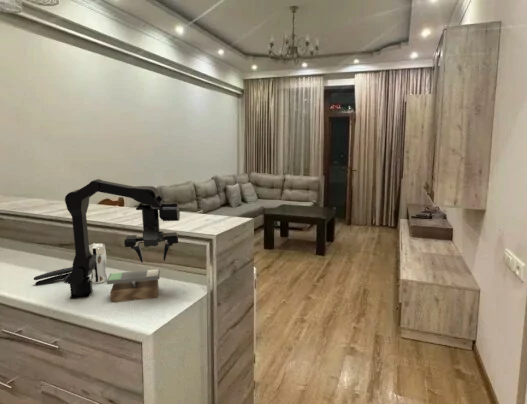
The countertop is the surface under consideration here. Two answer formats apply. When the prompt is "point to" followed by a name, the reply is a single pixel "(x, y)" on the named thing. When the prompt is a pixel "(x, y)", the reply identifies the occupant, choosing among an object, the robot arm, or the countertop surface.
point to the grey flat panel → (133, 276)
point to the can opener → (53, 273)
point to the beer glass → (98, 263)
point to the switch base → (134, 291)
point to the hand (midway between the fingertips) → (153, 261)
